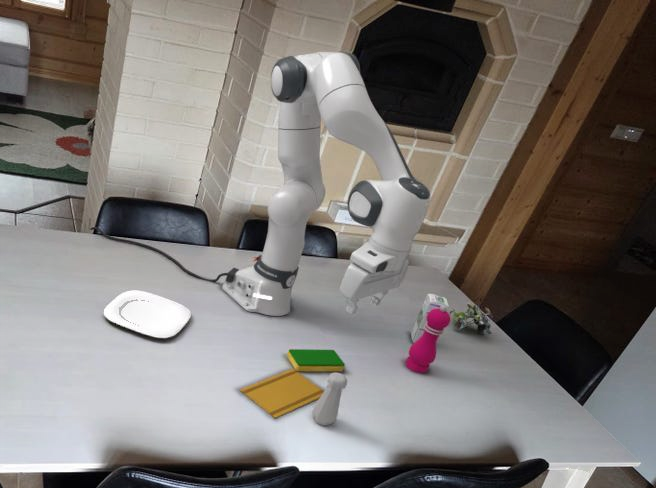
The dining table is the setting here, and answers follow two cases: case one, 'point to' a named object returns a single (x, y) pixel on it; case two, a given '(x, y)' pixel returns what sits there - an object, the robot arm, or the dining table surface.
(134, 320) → the plate
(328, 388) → the salt shaker
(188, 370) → the dining table surface
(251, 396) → the cloth
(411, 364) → the pepper mill
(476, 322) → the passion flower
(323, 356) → the dish sponge
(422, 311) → the syrup box
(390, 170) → the robot arm
